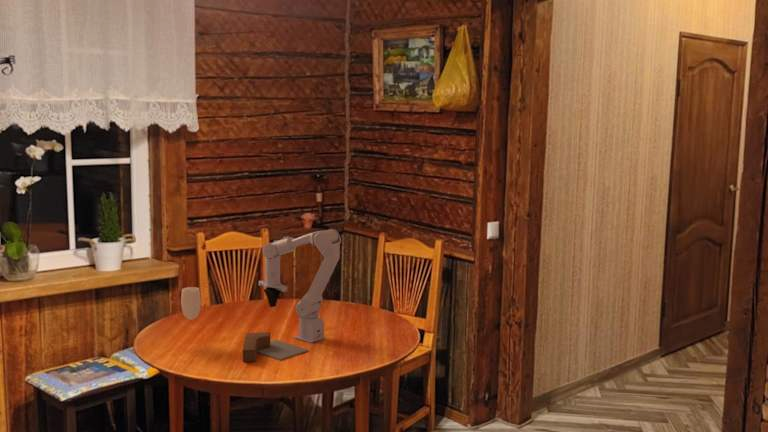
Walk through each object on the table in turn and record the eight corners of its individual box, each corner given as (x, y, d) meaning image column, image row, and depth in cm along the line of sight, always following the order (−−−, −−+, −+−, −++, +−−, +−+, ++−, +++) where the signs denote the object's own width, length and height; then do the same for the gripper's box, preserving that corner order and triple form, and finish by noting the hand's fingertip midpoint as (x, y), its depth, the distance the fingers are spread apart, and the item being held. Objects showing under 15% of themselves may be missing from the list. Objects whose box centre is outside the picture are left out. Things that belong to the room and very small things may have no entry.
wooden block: (270, 331, 285) (268, 348, 268) (270, 343, 286) (268, 361, 268) (245, 332, 284) (242, 350, 267) (246, 344, 285) (242, 362, 267)
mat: (308, 351, 281) (308, 349, 281) (280, 360, 270) (280, 359, 270) (276, 341, 291) (276, 339, 291) (248, 349, 281) (248, 348, 281)
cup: (205, 340, 290) (204, 287, 287) (195, 346, 283) (194, 292, 280) (188, 338, 292) (187, 286, 289) (178, 344, 285) (176, 290, 282)
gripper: (252, 271, 301) (252, 304, 303) (277, 277, 292) (277, 311, 294) (266, 268, 306) (266, 301, 308) (291, 274, 297) (291, 308, 299)
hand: (272, 306), depth 301 cm, fingers closed
